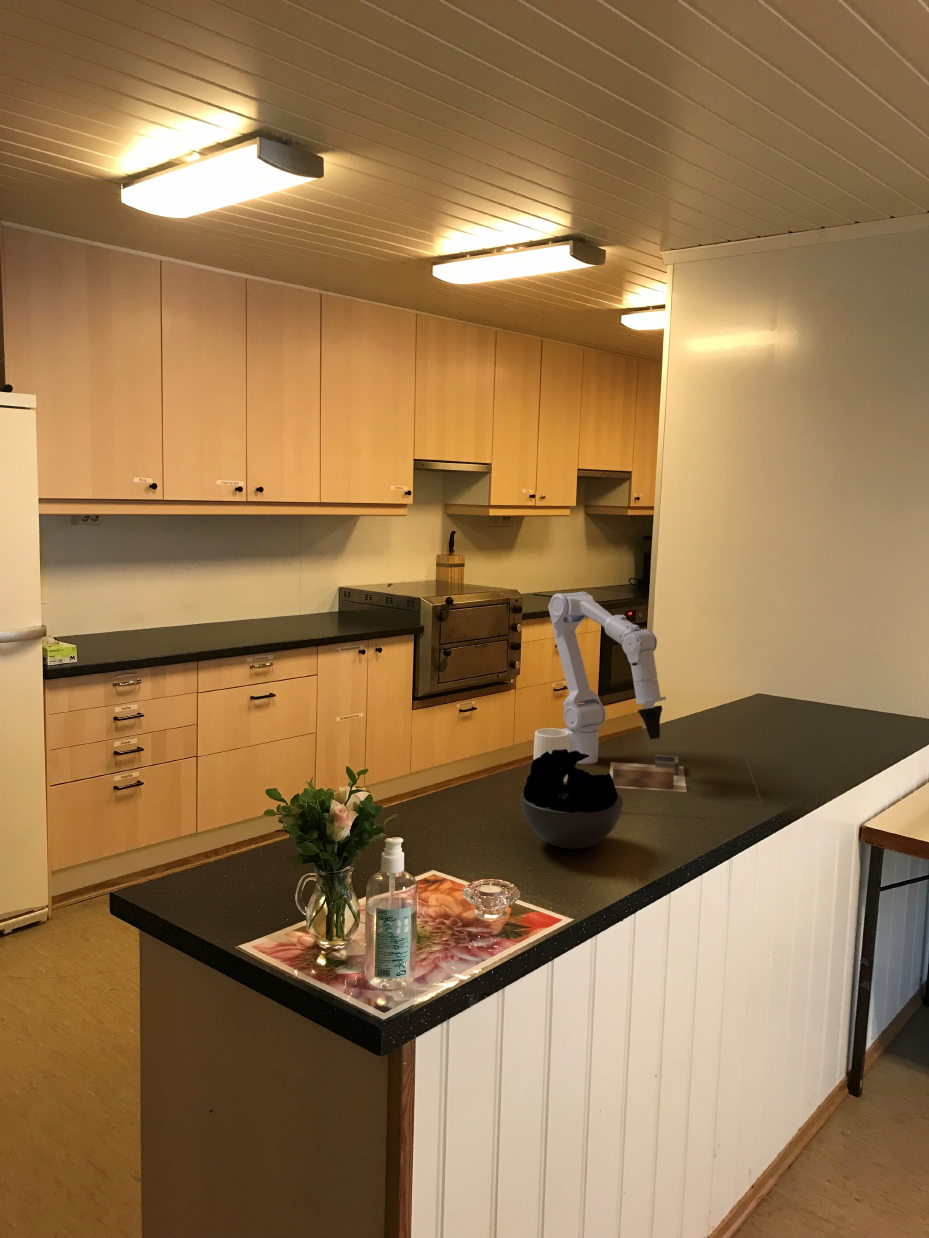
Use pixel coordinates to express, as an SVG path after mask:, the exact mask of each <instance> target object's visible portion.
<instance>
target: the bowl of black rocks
mask: <svg viewBox="0 0 929 1238" xmlns="http://www.w3.org/2000/svg"><path fill="white" fill-rule="evenodd" d="M587 757H589V755H586V754H581V753H580V752H579V751H571V752H568V750H567V749H563V750H553V751H552V753H551V754H550V753H549V752H545V753H544V754H542V755H541V756H540V757H538V758H536V759H535V760H534V759H533V760H532V762H531V767H530V772H529V775H528V776H527V777H526V784H525V785H524V787H523V790H522V792H521V795H520V805H521V810H522V813H523V816H524V818H525V821H526V822H527V824H528V825H529V827H530V828H531V829H532V831H533V832H534V833H535V834H536V835H537V836H538V837H539V838H540V839H541V840H543V841H545V842H546V843H548V844H550V845H552V846H555V847H558V848H560V849H567V850H568V849H569V850H578V849H584V848H588V847H591V846H593V845H595V844H597V843H600V842H601V841H602V840H604V839H605V838H606V837H607V836H608V835H610V833H611V832H612V831H613V829H614V828H615V826H616V825H617V823H618V821H619V819H620V817H621V813H622V812H623V811H622V810H623V806H624V805H623V804H624V798H623V796H621V795H620V793H618V791H617V789H616V788H617V787H615V785H614V782H613V779H612V776H611V774H610V772H609V773H607V774H590V773H589V772H588V771H585V770H584V769H582V768H581V769H580V768H577V767H576V765H577V764H578V763H577V762H578V761H581V760H583V759H585V758H587ZM567 774H568V779H567V782H564V778H565V776H566V775H567Z"/></svg>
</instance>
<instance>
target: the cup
mask: <svg viewBox="0 0 929 1238" xmlns="http://www.w3.org/2000/svg"><path fill="white" fill-rule="evenodd" d="M563 749H567V750H568V752H570V740H569V732H568V731H566V730H563V728H553V727H552V728H551V727H550V728H549V727H547V728H540V729H537V730H536V731H535V732H534V742H533V760H535V759H536V758H538V757H540V756H541V755H542V754H544V753H545V752H549V753H550V754H551V753H552V751H553V750H563ZM567 779H568V774H567V775H566V776H565V778H564V782H567Z"/></svg>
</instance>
